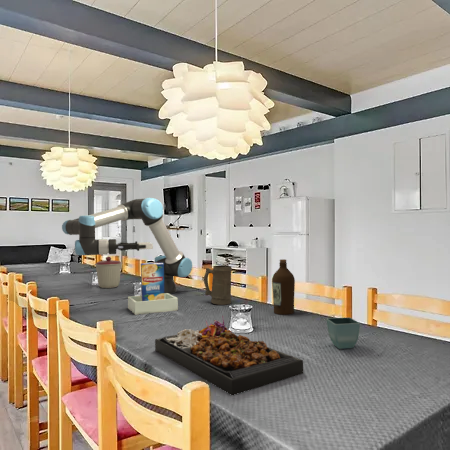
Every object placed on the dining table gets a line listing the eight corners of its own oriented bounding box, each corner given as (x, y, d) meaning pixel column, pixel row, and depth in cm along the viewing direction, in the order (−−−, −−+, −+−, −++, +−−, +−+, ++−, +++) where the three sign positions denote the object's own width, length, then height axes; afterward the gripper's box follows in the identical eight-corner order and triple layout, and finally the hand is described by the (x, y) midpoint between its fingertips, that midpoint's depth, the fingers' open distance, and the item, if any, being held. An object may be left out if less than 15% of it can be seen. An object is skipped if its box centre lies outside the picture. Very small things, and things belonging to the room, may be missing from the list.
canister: (118, 289, 272) (117, 257, 271) (91, 289, 272) (90, 258, 272) (125, 285, 290) (124, 255, 289) (100, 285, 290) (99, 255, 290)
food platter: (155, 352, 138) (154, 321, 138) (216, 339, 152) (215, 312, 152) (232, 398, 101) (231, 356, 101) (303, 375, 115) (302, 339, 115)
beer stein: (233, 301, 222) (232, 264, 222) (231, 305, 211) (231, 266, 211) (205, 301, 224) (204, 264, 224) (202, 305, 213) (201, 267, 213)
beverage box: (164, 308, 203) (163, 263, 203) (142, 309, 200) (141, 264, 200) (163, 305, 210) (162, 262, 209) (141, 306, 207) (140, 263, 207)
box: (168, 304, 217) (167, 293, 217) (177, 310, 202) (177, 298, 201) (128, 308, 208) (127, 296, 208) (135, 315, 193) (135, 302, 193)
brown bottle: (287, 309, 199) (286, 258, 199) (299, 313, 190) (298, 259, 190) (268, 311, 195) (267, 259, 195) (280, 316, 185) (279, 261, 185)
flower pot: (326, 343, 143) (325, 317, 143) (350, 342, 143) (350, 317, 143) (334, 351, 134) (334, 324, 134) (361, 350, 135) (360, 323, 135)
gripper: (108, 252, 215) (149, 251, 221) (107, 256, 191) (153, 254, 196) (108, 238, 215) (149, 237, 220) (107, 240, 191) (153, 238, 196)
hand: (151, 245), depth 208 cm, fingers open, 13 cm apart
